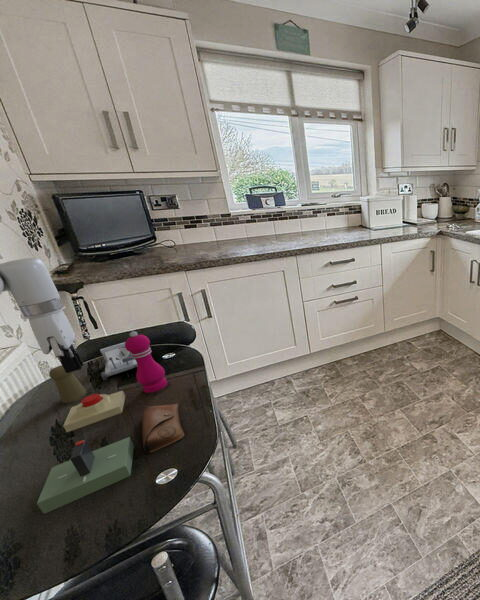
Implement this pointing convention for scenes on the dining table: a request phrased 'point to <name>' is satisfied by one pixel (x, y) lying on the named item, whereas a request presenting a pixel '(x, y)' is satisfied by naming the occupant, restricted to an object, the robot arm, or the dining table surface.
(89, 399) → the red button
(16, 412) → the dining table surface
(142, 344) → the pepper mill
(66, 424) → the button block
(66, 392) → the cork
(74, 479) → the panel
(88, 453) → the handle knob
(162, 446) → the sunglasses case
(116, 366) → the silver toaster
